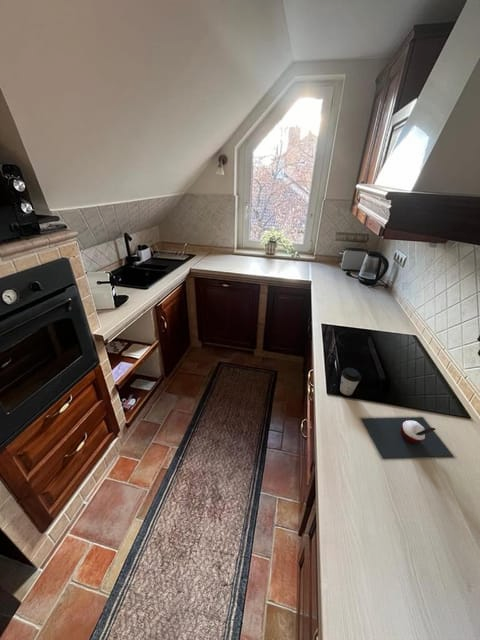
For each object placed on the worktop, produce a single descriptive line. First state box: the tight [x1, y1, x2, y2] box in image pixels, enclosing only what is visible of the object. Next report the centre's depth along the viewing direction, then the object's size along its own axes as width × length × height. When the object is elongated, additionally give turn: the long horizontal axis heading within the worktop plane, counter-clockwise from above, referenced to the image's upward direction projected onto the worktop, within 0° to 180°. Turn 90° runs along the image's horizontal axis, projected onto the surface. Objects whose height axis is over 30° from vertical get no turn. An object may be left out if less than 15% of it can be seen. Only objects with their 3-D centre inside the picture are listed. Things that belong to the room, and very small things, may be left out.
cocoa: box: [400, 420, 437, 444], centre depth 78 cm, size 10×6×12 cm, turn 150°
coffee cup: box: [339, 367, 362, 396], centre depth 97 cm, size 7×7×10 cm
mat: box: [361, 416, 454, 459], centre depth 82 cm, size 22×14×1 cm, turn 92°
